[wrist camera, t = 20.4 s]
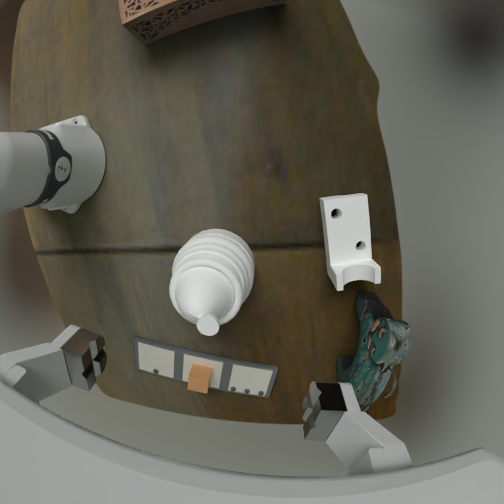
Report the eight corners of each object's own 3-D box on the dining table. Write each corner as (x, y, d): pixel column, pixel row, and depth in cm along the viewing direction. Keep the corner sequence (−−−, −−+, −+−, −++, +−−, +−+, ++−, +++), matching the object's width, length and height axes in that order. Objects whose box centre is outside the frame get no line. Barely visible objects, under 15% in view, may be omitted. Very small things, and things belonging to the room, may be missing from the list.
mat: (137, 367, 56) (135, 370, 55) (135, 335, 53) (133, 339, 52) (268, 395, 56) (268, 399, 55) (278, 366, 54) (278, 370, 52)
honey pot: (267, 248, 47) (269, 296, 30) (236, 310, 50) (223, 377, 33) (196, 216, 46) (157, 245, 28) (171, 281, 49) (130, 335, 32)
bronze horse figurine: (354, 281, 48) (399, 345, 29) (385, 285, 48) (438, 345, 29) (327, 368, 54) (346, 443, 34) (355, 369, 54) (381, 440, 34)
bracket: (365, 266, 47) (380, 283, 40) (327, 272, 48) (337, 291, 41) (359, 192, 44) (376, 197, 36) (318, 197, 44) (329, 203, 37)
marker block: (191, 376, 54) (187, 389, 51) (192, 363, 53) (188, 375, 49) (210, 380, 54) (207, 393, 51) (212, 367, 53) (208, 380, 49)
